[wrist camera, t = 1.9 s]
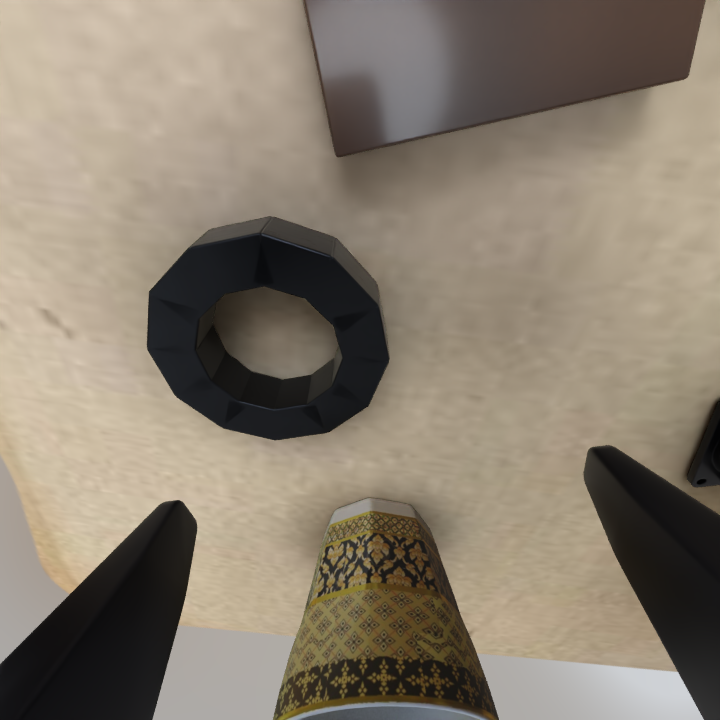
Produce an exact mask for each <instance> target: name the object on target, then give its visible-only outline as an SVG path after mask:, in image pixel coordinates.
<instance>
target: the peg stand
mask: <svg viewBox="0 0 720 720" xmlns="http://www.w3.org/2000/svg"><path fill="white" fill-rule="evenodd" d="M303 3H304V8H305V13H306V18H307V22H308V27H309V32H310V37H311V41H312V46H313V51H314V56H315V61H316V65H317V70H318V75H319V80H320V85H321V89H322V94H323V99H324V104H325V108H326V113H327V118H328V123H329V128H330V132H331V137H332V142H333V147H334V152H335V155H336V157H343V156H347V155H352V154H356V153H361V152H365V151H370V150H374V149H379V148H383V147H387V146H392V145H396V144H401V143H405V142H410V141H414V140H418V139H423V138H427V137H432V136H436V135H441V134H445V133H450V132H454V131H458V130H463V129H467V128H472V127H476V126H481V125H485V124H489V123H494V122H498V121H503V120H507V119H512V118H516V117H521V116H525V115H529V114H534V113H538V112H543V111H547V110H552V109H556V108H561V107H565V106H569V105H574V104H578V103H583V102H587V101H592V100H596V99H600V98H605V97H609V96H614V95H618V94H623V93H627V92H632V91H636V90H640V89H645V88H649V87H654V86H658V85H663V84H667V83H671V82H676V81H680V80H684V79H686V78H687V77H688V75H689V72H690V67H691V63H692V58H693V54H694V49H695V45H696V40H697V36H698V31H699V27H700V22H701V18H702V13H703V9H704V4H705V0H303Z"/></svg>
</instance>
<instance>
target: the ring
mask: <svg viewBox="0 0 720 720" xmlns="http://www.w3.org/2000/svg"><path fill="white" fill-rule="evenodd" d="M264 286H265V287H268V288H272V289H275V290H278V291H282V292H285V293H288V294H291V295H295V296H298V297H301V298H305V299H306V300H307V301H308V302H309V303H310V304H311V305H312V306H313V307H314V308H315V309H316V310H317V311H318V312H319V313H320V314H322V315H323V316H324V317H325V318H326V319H327V320H328V321H329V322H330V323H331V324H332V325H333V326H334V330H335V333H336V337H337V341H338V344H339V346H338V349H337V352H336V355H335V358H333V359H332V360H331V361H329V362H328V363H327V364H325V365H324V366H323V367H321V368H320V369H319V370H318V371H316V372H315V373H314V374H312V375H308V376H302V377H296V378H290V379H284V380H282V379H278V378H274V377H270V376H267V375H263V374H259V373H255V372H251V371H250V370H249V369H247V368H246V367H245V366H243V365H242V364H241V363H240V362H238V361H237V360H236V359H234V358H233V357H232V356H231V355H229V354H228V353H227V352H226V351H225V349H224V346H223V344H222V342H221V340H220V338H219V336H218V334H217V332H216V329H215V327H214V325H213V320H214V313H215V306H216V302H217V301H219V300H220V299H221V298H222V297H223V296H224V295H225V294H228V293H233V292H238V291H243V290H248V289H254V288H259V287H264ZM147 349H148V351H149V353H150V355H151V356H152V358H153V360H154V361H155V363H156V365H157V366H158V368H159V370H160V371H161V373H162V375H163V376H164V378H165V380H166V381H167V383H168V385H169V386H170V388H171V390H172V391H173V393H174V395H175V396H176V397H177V398H179V399H180V400H182V401H183V402H185V403H186V404H188V405H189V406H191V407H192V408H193V409H195V410H196V411H198V412H199V413H201V414H202V415H204V416H205V417H207V418H208V419H210V420H211V421H213V422H214V423H216V424H217V425H219V426H220V427H223V428H224V429H228V430H232V431H237V432H241V433H245V434H250V435H254V436H258V437H263V438H267V439H271V440H282V439H289V438H296V437H302V436H309V435H316V434H323V433H327V432H330V431H332V430H333V429H335V428H336V427H338V426H339V425H341V424H342V423H344V422H345V421H347V420H348V419H350V418H351V417H353V416H354V415H356V414H357V413H359V412H360V411H362V410H363V409H365V408H366V407H368V406H369V404H370V402H371V400H372V398H373V395H374V393H375V391H376V389H377V387H378V385H379V382H380V380H381V378H382V376H383V374H384V372H385V369H386V367H387V365H388V363H389V350H388V342H387V333H386V328H385V322H384V317H383V312H382V306H381V301H380V295H379V290H378V285H377V283H376V281H375V280H374V279H373V278H372V277H371V275H370V274H369V273H368V272H367V271H366V270H365V269H364V268H363V267H362V266H361V264H360V263H359V262H358V261H357V260H356V259H355V258H354V257H353V256H352V254H351V253H350V252H349V251H348V250H347V249H346V248H345V247H344V246H343V245H342V243H341V242H340V241H339V240H338V239H337V238H334V237H333V236H330V235H327V234H324V233H321V232H318V231H315V230H312V229H309V228H306V227H303V226H300V225H297V224H294V223H291V222H288V221H285V220H282V219H279V218H277V217H271V216H269V217H265V218H260V219H255V220H251V221H246V222H241V223H236V224H232V225H227V226H222V227H218V228H213V229H211V230H208V231H207V232H206V233H205V234H204V235H203V236H201V237H200V238H199V239H198V240H197V241H196V242H195V243H193V244H192V245H191V246H190V247H189V248H188V249H187V250H186V251H185V252H184V253H183V254H182V256H181V257H180V258H179V259H178V260H177V261H176V262H175V263H174V264H173V266H172V267H171V268H170V269H169V270H168V271H167V272H166V273H165V274H164V276H163V277H162V278H161V279H160V280H159V281H158V282H157V283H156V284H155V286H154V287H153V288H152V289H151V290H150V291H149V305H148V332H147Z"/></svg>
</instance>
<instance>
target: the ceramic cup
mask: <svg viewBox="0 0 720 720" xmlns="http://www.w3.org/2000/svg"><path fill="white" fill-rule="evenodd" d="M273 720H499V718H498V715H497V712H496V709H495V705H494V702H493V699H492V696H491V692H490V689H489V686H488V684H487V681H486V678H485V675H484V673H483V670H482V667H481V664H480V661H479V659H478V656H477V653H476V650H475V648H474V645H473V643H472V640H471V638H470V636H469V633H468V631H467V629H466V627H465V624H464V622H463V620H462V618H461V615H460V612H459V609H458V606H457V603H456V600H455V597H454V594H453V592H452V589H451V586H450V583H449V580H448V578H447V575H446V572H445V569H444V567H443V564H442V561H441V558H440V555H439V552H438V549H437V546H436V543H435V541H434V538H433V536H432V533H431V531H430V529H429V527H428V526H427V525H426V523H425V522H424V521H423V520H422V518H421V517H420V516H419V515H418V513H417V512H416V511H415V510H414V509H413V507H412V506H411V505H409V504H404V503H398V502H392V501H387V500H381V499H375V498H367V499H364V500H361V501H358V502H355V503H352V504H350V505H347V506H344V507H341V508H338V509H336V510H335V512H334V513H333V515H332V517H331V520H330V522H329V525H328V527H327V530H326V532H325V535H324V538H323V541H322V545H321V549H320V552H319V556H318V561H317V565H316V569H315V573H314V577H313V581H312V584H311V588H310V592H309V596H308V600H307V604H306V608H305V611H304V615H303V619H302V623H301V625H300V628H299V631H298V633H297V636H296V639H295V641H294V644H293V647H292V650H291V652H290V656H289V659H288V663H287V667H286V670H285V674H284V678H283V681H282V685H281V688H280V692H279V696H278V700H277V705H276V709H275V713H274V717H273Z"/></svg>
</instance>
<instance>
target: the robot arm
mask: <svg viewBox="0 0 720 720" xmlns="http://www.w3.org/2000/svg"><path fill="white" fill-rule="evenodd" d="M687 480H688V481H689V482H690V483H691V485H692V486H693V487H705V486H714V485H720V401H719V402H718V404H717V406H716V408H715V411H714V413H713V416H712V418H711V420H710V423H709V425H708V428H707V430H706V432H705V435H704V437H703V440H702V442H701V444H700V447H699V449H698V452H697V454H696V456H695V459H694V461H693V464H692V466H691V468H690V471H689V473H688V476H687ZM584 481H585V484H586V487H587V489H588V491H589V494H590V496H591V499H592V501H593V503H594V506H595V508H596V511H597V513H598V516H599V518H600V520H601V523H602V525H603V528H604V530H605V532H606V535H607V537H608V540H609V542H610V544H611V547H612V549H613V551H614V553H615V556H616V558H617V560H618V562H619V564H620V566H621V568H622V569H623V571H624V573H625V575H626V577H627V579H628V580H629V582H630V584H631V586H632V588H633V590H634V592H635V593H636V595H637V597H638V599H639V601H640V603H641V604H642V606H643V608H644V610H645V612H646V614H647V615H648V617H649V619H650V621H651V623H652V625H653V627H654V628H655V630H656V632H657V634H658V636H659V638H660V639H661V641H662V643H663V645H664V647H665V649H666V650H667V652H668V654H669V656H670V658H671V660H672V662H673V663H674V665H675V667H676V669H677V671H678V672H679V674H680V676H681V678H682V680H683V681H684V684H685V685H686V687H687V689H688V691H689V693H690V694H691V696H692V698H693V700H694V702H695V704H696V706H697V707H698V709H699V711H700V713H701V715H702V717H703V719H704V720H720V515H719V514H717V513H716V512H714V511H713V510H711V509H709V508H708V507H706V506H705V505H703V504H702V503H700V502H699V501H697V500H696V499H694V498H692V497H691V496H689V495H688V494H686V493H685V492H683V491H682V490H680V489H679V488H677V487H676V486H674V485H672V484H671V483H669V482H668V481H666V480H665V479H663V478H662V477H660V476H659V475H657V474H656V473H654V472H652V471H651V470H649V469H648V468H646V467H645V466H643V465H642V464H640V463H639V462H637V461H635V460H634V459H632V458H631V457H629V456H628V455H626V454H625V453H623V452H622V451H620V450H619V449H617V448H615V447H613V446H610V445H605V446H597V447H591V448H590V449H589V450H588V453H587V458H586V463H585V468H584ZM196 534H197V522H196V520H195V518H194V517H193V515H192V514H191V513H190V511H189V510H188V508H187V507H186V506H185V504H184V503H183V502H182V501H180V500H175V501H168V502H163V503H161V504H160V505H159V506H158V507H157V508H156V509H155V510H154V511H153V512H152V513H151V514H150V515H149V516H148V517H147V518H146V519H145V520H144V521H143V522H142V523H141V524H140V525H139V526H138V527H137V528H136V529H135V530H134V531H133V532H132V533H131V534H130V535H129V536H128V537H127V538H126V539H125V540H124V541H123V542H122V543H121V544H120V545H119V546H118V547H117V548H116V549H115V550H114V551H113V552H112V553H111V554H110V555H109V556H108V557H107V558H106V559H105V560H104V561H103V562H102V563H101V564H100V565H99V566H98V567H97V568H96V569H95V570H94V571H93V572H92V573H91V574H90V575H89V576H88V577H87V578H86V579H85V580H84V581H83V582H82V583H81V584H80V585H79V586H78V587H77V588H76V589H75V590H74V591H73V592H72V593H71V594H70V595H69V596H68V597H67V598H66V599H65V600H64V601H63V602H62V603H61V604H60V605H59V606H58V607H57V608H56V609H55V610H54V611H53V612H52V613H51V614H50V615H49V616H48V617H47V618H46V619H45V620H44V621H43V622H42V623H41V624H40V625H39V626H38V627H37V628H36V629H35V630H34V631H33V632H32V633H31V634H30V635H29V636H28V637H27V638H26V639H25V640H24V641H23V642H22V643H21V644H20V645H19V646H18V647H17V648H16V649H15V650H14V651H13V652H12V653H11V654H10V655H9V656H8V657H7V658H6V659H5V660H4V661H3V662H2V663H1V664H0V720H152V719H153V715H154V712H155V708H156V704H157V701H158V697H159V693H160V690H161V685H162V682H163V679H164V675H165V671H166V667H167V663H168V660H169V657H170V653H171V649H172V646H173V642H174V638H175V635H176V631H177V627H178V624H179V620H180V616H181V613H182V609H183V605H184V601H185V596H186V591H187V586H188V580H189V575H190V569H191V563H192V557H193V551H194V546H195V540H196Z"/></svg>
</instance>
